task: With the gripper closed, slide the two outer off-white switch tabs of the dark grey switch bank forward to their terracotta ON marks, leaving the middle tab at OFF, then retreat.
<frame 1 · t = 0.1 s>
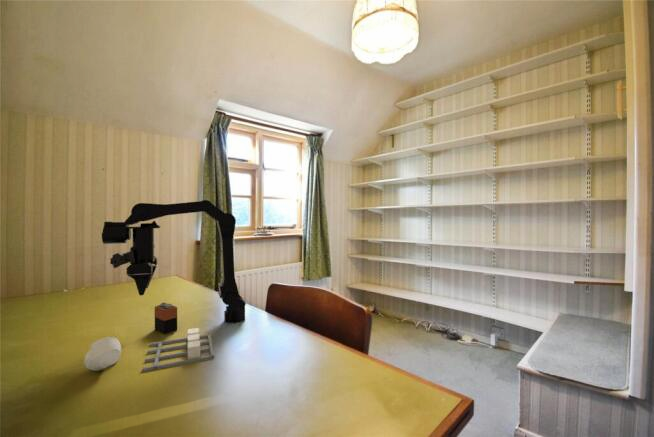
hand: (143, 291, 95), 15 cm above the table, fingers open, 9 cm apart
tab b: (193, 343, 84), point 3 cm above the table, slide at 0.0 cm
tab c: (193, 350, 79), point 3 cm above the table, slide at 0.0 cm
white rounded piece: (103, 369, 76), on the table
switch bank: (177, 356, 82), on the table
tab a: (193, 336, 88), point 3 cm above the table, slide at 0.0 cm
battery: (166, 334, 98), on the table
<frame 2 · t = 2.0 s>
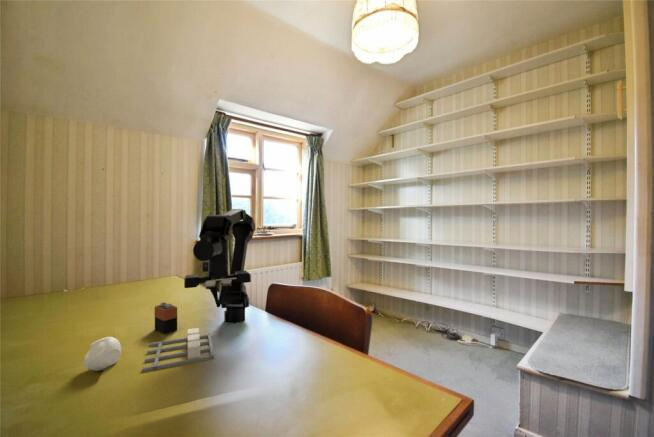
hand: (218, 306, 91), 11 cm above the table, fingers closed
nothing on the table moved.
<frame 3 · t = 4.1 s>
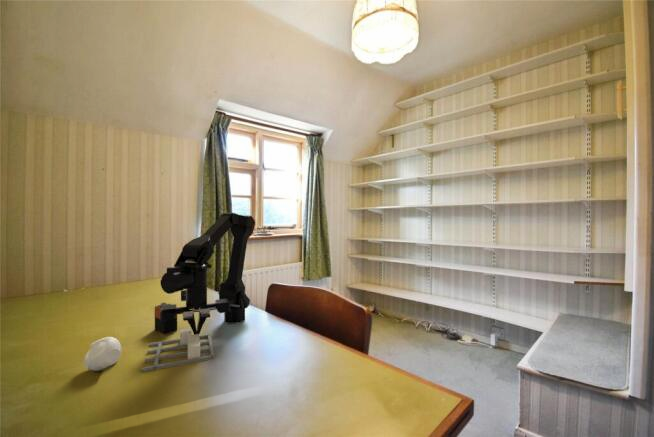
hand: (196, 337, 88), 3 cm above the table, fingers closed
tab a: (185, 337, 87), point 3 cm above the table, slide at 2.0 cm, touching gripper
everything else where it was.
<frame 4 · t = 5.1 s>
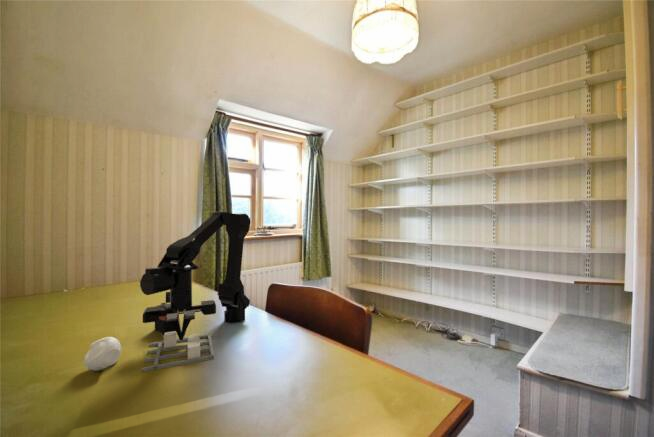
hand: (181, 340, 87), 3 cm above the table, fingers closed
tab a: (170, 340, 86), point 3 cm above the table, slide at 6.1 cm, touching gripper
everything else where it was.
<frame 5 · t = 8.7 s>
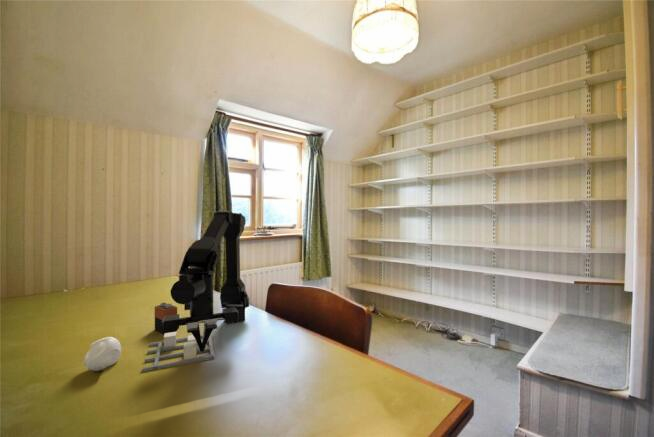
hand: (202, 351, 80), 3 cm above the table, fingers closed
tab c: (190, 351, 79), point 3 cm above the table, slide at 1.0 cm, touching gripper
tab a: (170, 340, 86), point 3 cm above the table, slide at 6.1 cm
everything else where it was.
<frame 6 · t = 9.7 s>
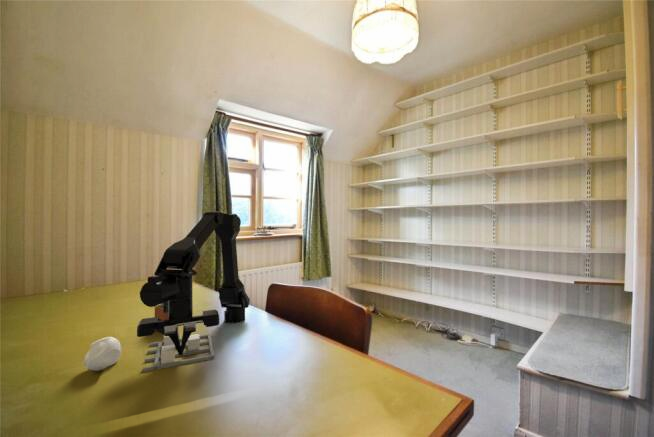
hand: (180, 354, 78), 3 cm above the table, fingers closed
tab c: (168, 355, 77), point 3 cm above the table, slide at 6.0 cm, touching gripper
everything else where it was.
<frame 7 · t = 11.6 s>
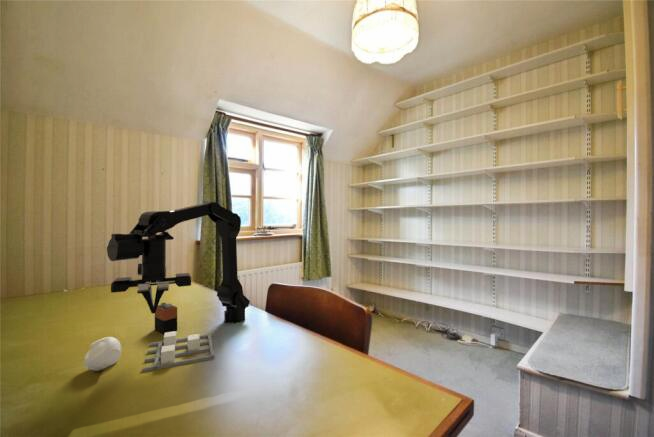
hand: (153, 313, 82), 12 cm above the table, fingers closed
tab c: (168, 355, 77), point 3 cm above the table, slide at 6.1 cm
everything else where it was.
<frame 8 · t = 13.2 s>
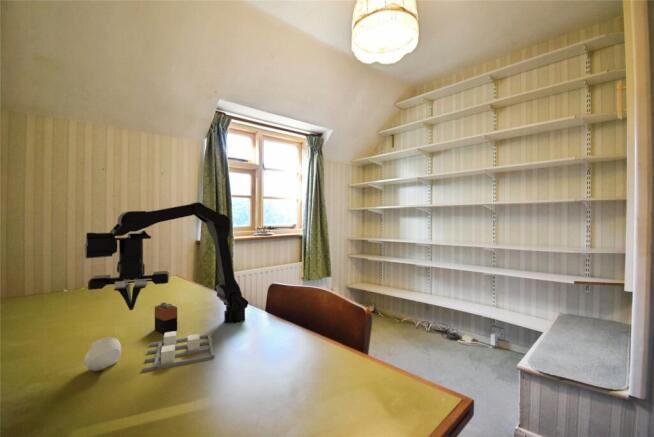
hand: (131, 309, 85), 12 cm above the table, fingers closed
nothing on the table moved.
at the end: tab a slide at 6.1 cm; tab c slide at 6.1 cm; tab b slide at 0.0 cm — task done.
